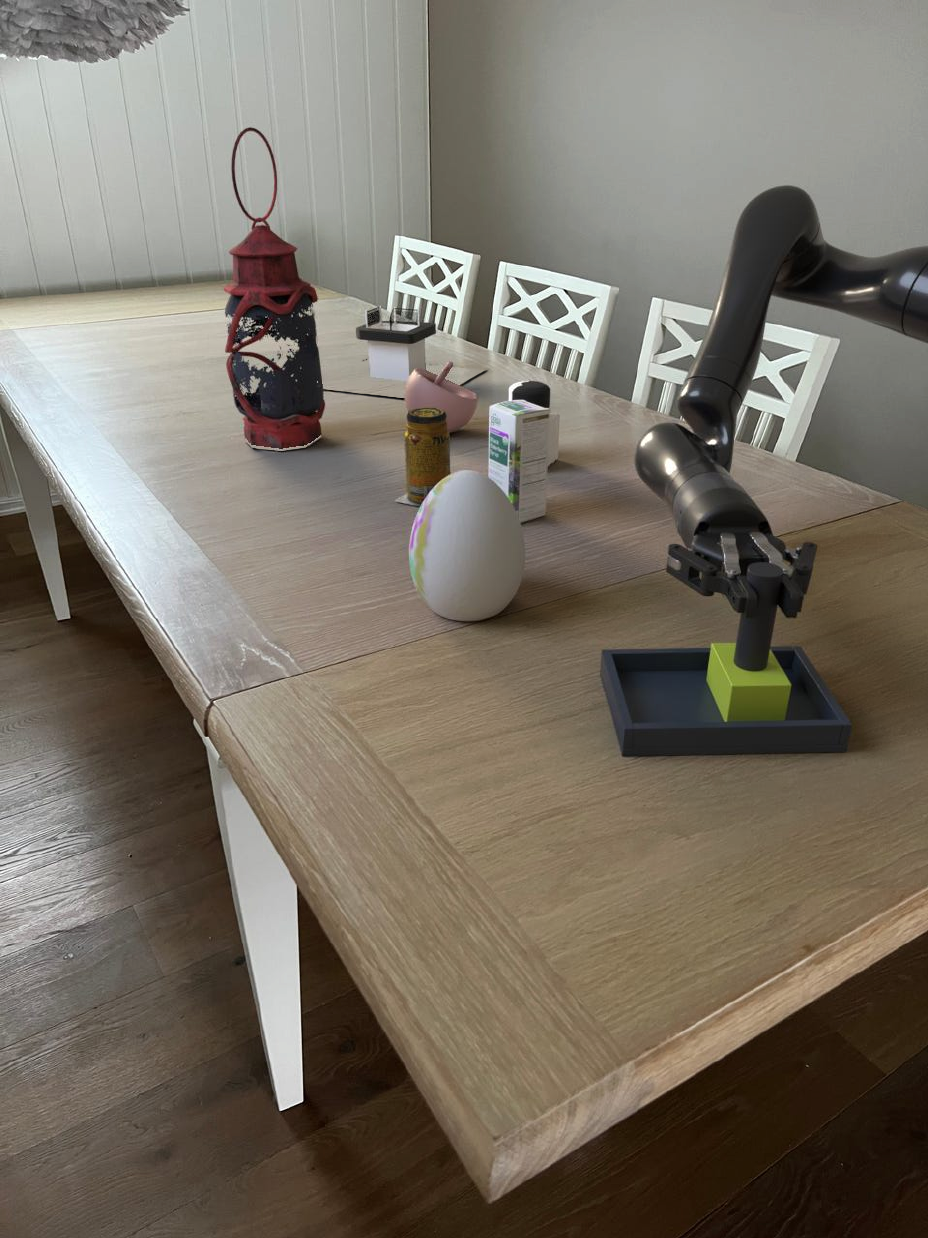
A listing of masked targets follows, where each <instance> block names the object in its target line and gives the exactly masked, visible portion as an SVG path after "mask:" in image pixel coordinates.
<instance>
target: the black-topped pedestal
mask: <svg viewBox="0 0 928 1238" xmlns="http://www.w3.org/2000/svg"><path fill="white" fill-rule="evenodd" d="M364 313H365V315H364V316H365V324H362V325H360V326H357V327H355V337H356V339H357V340H361V341H367V351H368V358H369V370H370V377H376V378H384V379H392V380H401V381H408V378H409V377H410V375H411V373H412V372H413V371H414V369H417V368H420V369H424V370H426V363H427V362H426V339H427V338H430V337H431V336H434V335H436V334H437V324H436V322H427V321H421V319H420V308H417V309H414V308H413V309H412V308H400V307H399V308H398V307H396V306H393V308H392V310H391V312H390V316H389V320H383V318H382V306H381V305H379V306H377V307H375V308H372V309H368V310H364ZM414 316H415V317H414ZM415 318H416V319H415Z"/></svg>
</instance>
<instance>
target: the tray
mask: <svg viewBox="0 0 928 1238" xmlns="http://www.w3.org/2000/svg"><path fill="white" fill-rule="evenodd" d="M770 649H771V651H772V653H773V654H774V656H775V658H776V659H777V661H778V663H779V665H780V666H781V668H782V670H783V671H784V673H785V675H786V676H787V678H788V680H789V682H790V683H791V690H790V695H789V700H788V705H787V711H786V716H785V721H733V722H725V721H724V719H723V717H722V714H721V712H720V710H719V708H718V705H717V703H716V701H715V699H714V696H713V694H712V692H711V690H710V687H709V685H708V683H707V680H706V679H707V672H708V665H709V658H710V650H711V647H672V648H665V647H664V648H619V649H617V648H614V649H611V648H610V649H601V653H600V655H601V656H600V671H599V676H600V679H601V683H602V687H603V691H604V695H605V698H606V702H607V705H608V709H609V712H610V717H611V720H612V724H613V729H614V732H615V734H616V738H617V742H618V746H619V749H620V750H619V751H620V753H621V756H622V757H645V756H646V757H647V756H649V757H651V756H652V757H653V756H656V757H657V756H699V755H700V756H702V755H703V756H705V755H710V756H711V755H755V754H756V755H758V754H760V755H761V754H811V753H813V754H814V753H815V754H817V753H846V752H847V749H848V745H849V741H850V737H851V732H852V729H853V723H852V721H850V718H848V716H847V714H846V713H845V712H844V710H843V708H842V707H841V705H840V704H839V702H838V701H837V699H836V698H835V696H834V695H833V693H832V692H831V690H830V688H829V687H828V685H827V684H826V683H825V680H823V677H821V675H820V673H819V672H818V671H817V669H816V667H815V666H814V664H813V663H812V661H811V660H810V658H809V656H807V653H806V652H805V651H804V649H803V647H802V646H801V645H799V646H798V645H796V646H795V645H794V646H792V645H787V646H786V645H785V646H783V645H782V646H780V645H779V646H770Z"/></svg>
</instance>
